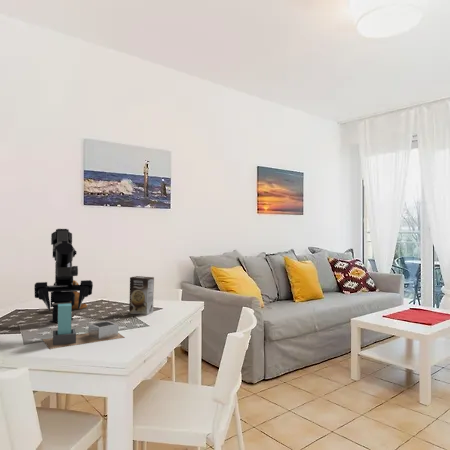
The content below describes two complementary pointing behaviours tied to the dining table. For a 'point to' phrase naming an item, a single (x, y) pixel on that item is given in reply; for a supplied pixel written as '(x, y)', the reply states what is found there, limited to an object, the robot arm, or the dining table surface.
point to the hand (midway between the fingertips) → (64, 309)
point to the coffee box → (141, 295)
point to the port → (103, 330)
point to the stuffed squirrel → (77, 299)
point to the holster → (64, 338)
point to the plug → (64, 319)
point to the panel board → (79, 340)
